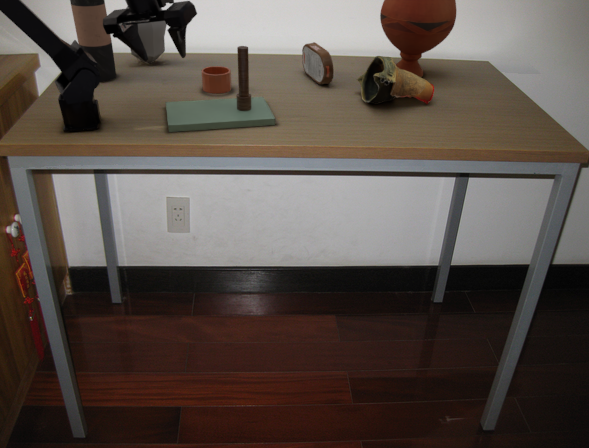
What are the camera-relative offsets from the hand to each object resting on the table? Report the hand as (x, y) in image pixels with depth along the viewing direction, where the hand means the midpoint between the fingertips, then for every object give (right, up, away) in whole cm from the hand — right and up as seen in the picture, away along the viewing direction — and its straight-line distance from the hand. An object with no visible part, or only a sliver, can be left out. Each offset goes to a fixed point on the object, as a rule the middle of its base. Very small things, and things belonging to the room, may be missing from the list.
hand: (165, 58), depth 103 cm
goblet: (+58, +7, +34) cm, 68 cm away
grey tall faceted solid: (-13, +10, +33) cm, 37 cm away
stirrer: (+16, -9, +5) cm, 19 cm away
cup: (+8, -2, +18) cm, 20 cm away
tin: (+32, +4, +28) cm, 43 cm away
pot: (+49, -6, +15) cm, 51 cm away
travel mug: (-22, +3, +23) cm, 32 cm away
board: (+11, -11, +5) cm, 16 cm away
